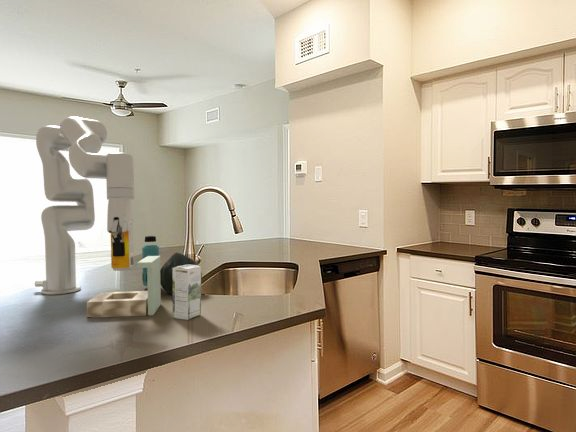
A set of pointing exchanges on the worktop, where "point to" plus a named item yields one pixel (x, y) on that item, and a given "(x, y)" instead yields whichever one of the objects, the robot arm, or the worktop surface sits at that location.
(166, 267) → the squash
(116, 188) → the robot arm
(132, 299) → the socket
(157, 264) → the mint green slab
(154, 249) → the beverage bottle
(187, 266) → the syrup box
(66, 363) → the worktop surface
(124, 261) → the beer can
